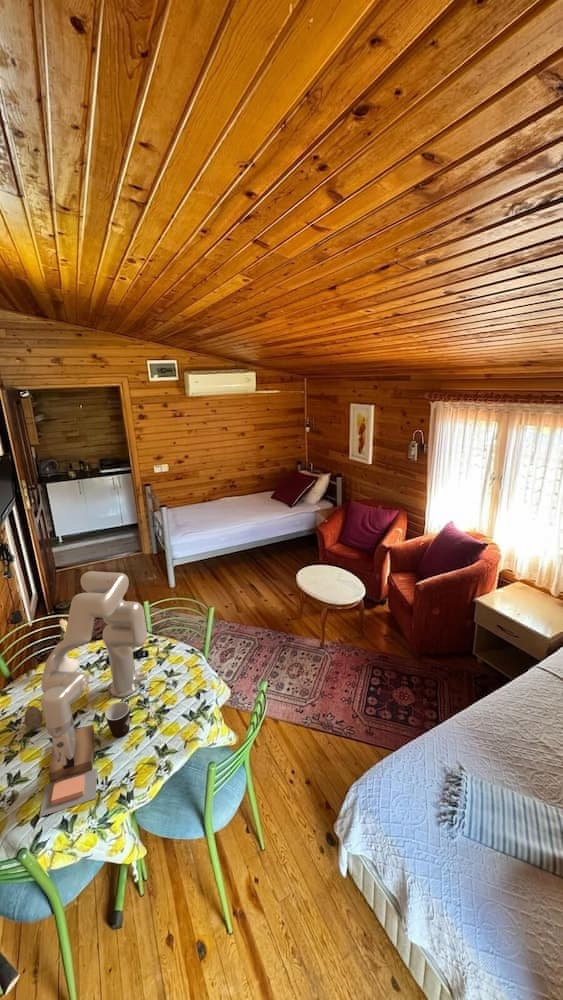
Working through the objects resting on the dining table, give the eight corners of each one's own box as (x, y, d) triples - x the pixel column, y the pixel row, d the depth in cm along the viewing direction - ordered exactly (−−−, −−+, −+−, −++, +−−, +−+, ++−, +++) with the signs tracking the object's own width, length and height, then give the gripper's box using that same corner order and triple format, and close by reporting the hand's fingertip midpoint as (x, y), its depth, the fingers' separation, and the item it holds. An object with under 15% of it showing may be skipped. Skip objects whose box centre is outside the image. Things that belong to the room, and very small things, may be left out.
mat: (97, 769, 141) (97, 768, 141) (95, 798, 131) (95, 798, 131) (45, 785, 136) (44, 784, 136) (39, 817, 126) (39, 817, 126)
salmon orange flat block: (82, 790, 132) (83, 795, 132) (84, 774, 137) (85, 778, 138) (51, 800, 129) (52, 805, 129) (54, 783, 134) (55, 787, 135)
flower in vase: (72, 680, 182) (62, 632, 174) (47, 679, 182) (36, 632, 174) (86, 660, 194) (77, 614, 186) (62, 660, 194) (53, 614, 186)
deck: (94, 732, 155) (93, 724, 154) (92, 769, 141) (90, 760, 140) (56, 743, 151) (54, 735, 150) (50, 782, 137) (48, 773, 135)
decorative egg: (46, 720, 161) (42, 700, 158) (41, 732, 155) (36, 712, 152) (30, 722, 160) (25, 702, 157) (24, 735, 154) (18, 714, 151)
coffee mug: (118, 744, 150) (114, 723, 147) (103, 734, 155) (100, 713, 151) (143, 722, 160) (140, 702, 156) (129, 713, 164) (126, 693, 161)
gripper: (70, 738, 126) (79, 781, 132) (74, 703, 139) (83, 744, 145) (43, 746, 124) (53, 790, 129) (50, 709, 137) (59, 751, 143)
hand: (69, 765), depth 137 cm, fingers closed
